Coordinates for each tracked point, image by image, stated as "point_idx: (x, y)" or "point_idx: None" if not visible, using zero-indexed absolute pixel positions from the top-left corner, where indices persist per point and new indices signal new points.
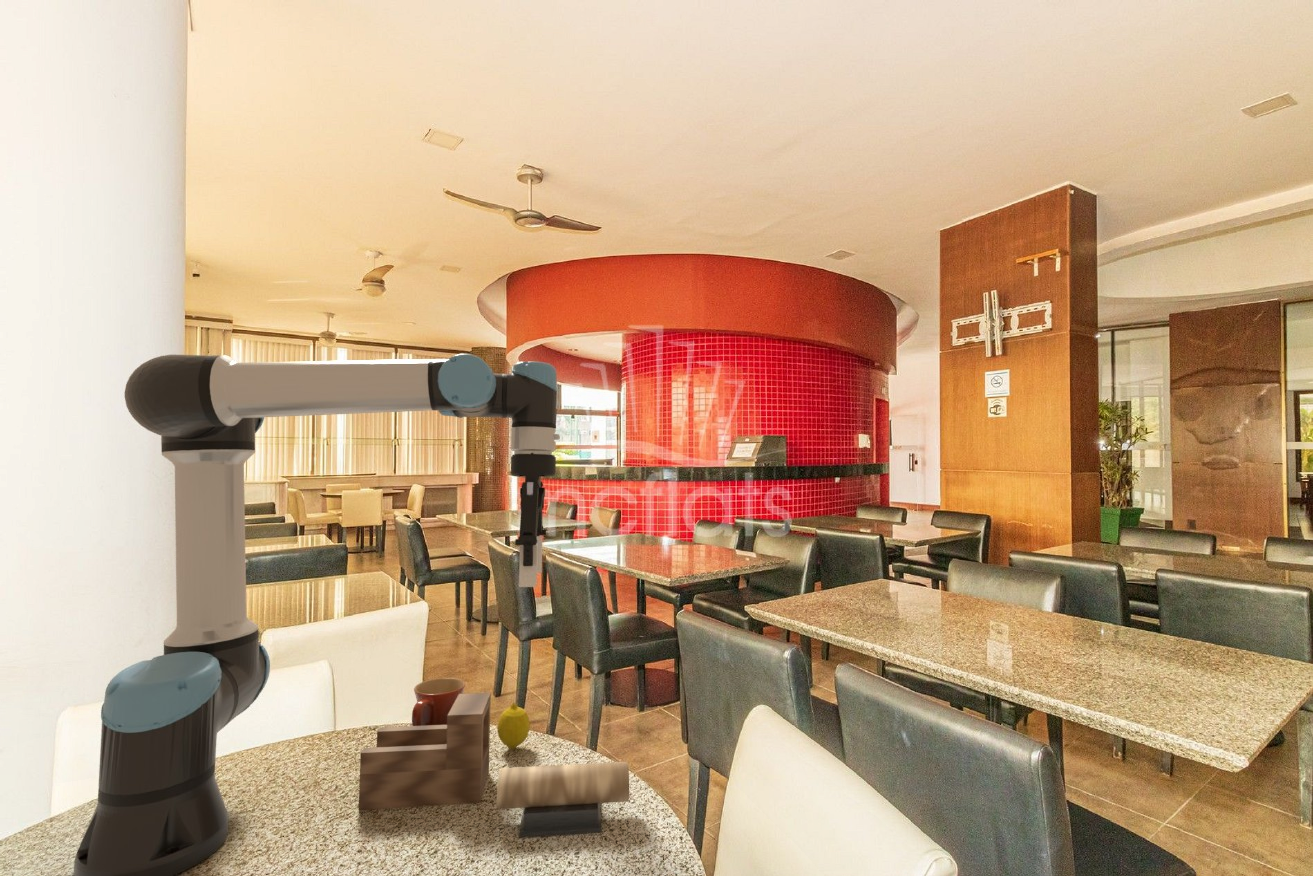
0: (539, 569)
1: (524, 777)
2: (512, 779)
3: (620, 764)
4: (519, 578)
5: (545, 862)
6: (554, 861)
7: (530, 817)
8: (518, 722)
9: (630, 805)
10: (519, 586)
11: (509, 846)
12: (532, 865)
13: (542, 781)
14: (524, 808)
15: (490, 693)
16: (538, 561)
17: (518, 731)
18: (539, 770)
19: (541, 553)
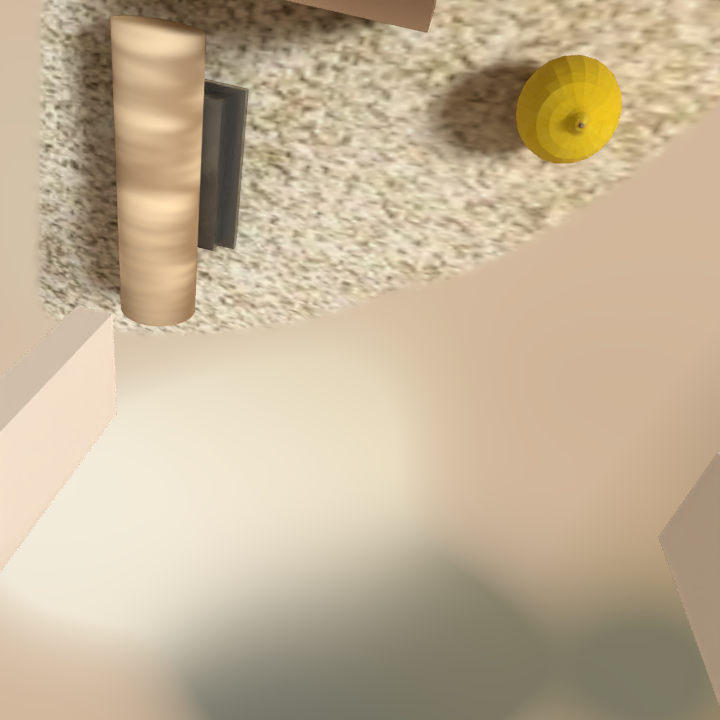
0: (675, 549)
1: (118, 94)
2: (115, 62)
3: (140, 310)
4: (43, 342)
5: (48, 103)
6: (51, 120)
7: None
8: (525, 126)
9: (212, 293)
10: (75, 312)
11: (101, 37)
12: (40, 76)
13: (115, 136)
14: (217, 87)
15: (422, 31)
16: (699, 599)
17: (516, 120)
18: (132, 136)
19: (714, 682)
